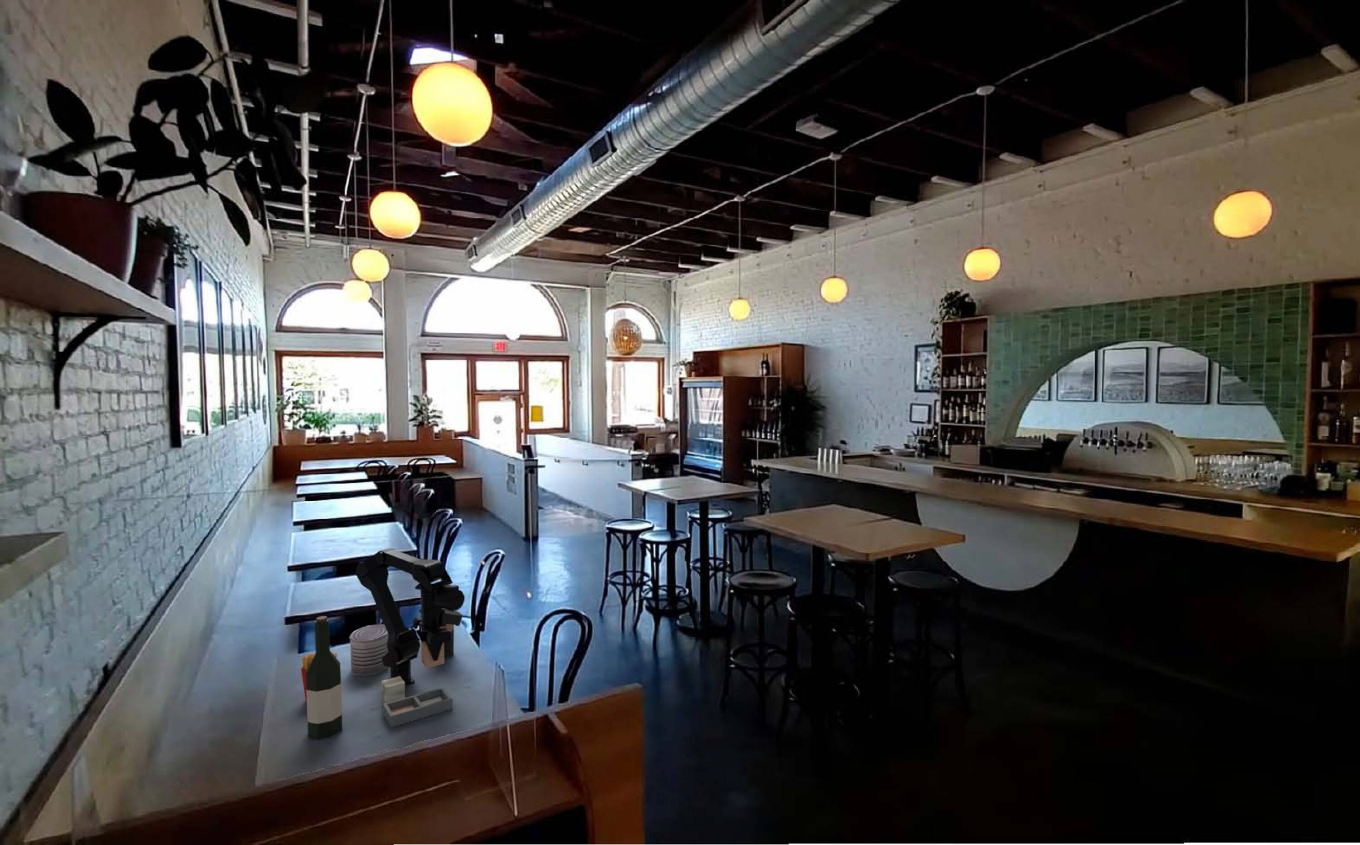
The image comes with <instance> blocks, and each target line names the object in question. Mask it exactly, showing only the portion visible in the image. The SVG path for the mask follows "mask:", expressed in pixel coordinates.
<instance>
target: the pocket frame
mask: <svg viewBox="0 0 1360 845" xmlns="http://www.w3.org/2000/svg"><path fill="white" fill-rule="evenodd" d="M453 701H454V700H453V697H451V695H450V694H449V693H448V692H447V690H446V689H445V688H444V687H439V688H435V689H432V690H428V691H425V692H421V693H417V694H414V695H411V696H407V697H406V696H405V698H403V699H399V700H396V701H392V702H389V703H385V704H382V710H383V711H382V714H383V716H385V717H384V718H385V720H386V722H387V721H388V722H387V724H388V725H389V724H390V725H389V727H390V726H391V727H392V728H395V727H398V726H401V725H400V724H402V725H404V723H405V724H407V722H408V723H411V722H410V721H412V720H415V721H417V720H416V719H418V720H421V719H420V718H422V719H425V718H427V716H428V717H431V716H430V715H432V716H434V715H433V714H435V715H438V714H441V713H444V711H445V712H448V711H451V710H453V708H454V707H453ZM447 710H448V711H447ZM424 717H425V718H424ZM412 722H413V721H412ZM397 725H398V726H397ZM394 726H395V727H394ZM391 727H390V728H391Z"/></svg>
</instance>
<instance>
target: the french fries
mask: <svg viewBox="0 0 1360 845" xmlns="http://www.w3.org/2000/svg"><path fill="white" fill-rule="evenodd" d="M331 653H332V654H333V655H334V656H335V657H336V658H337V656H338V653H335V652H331ZM315 654H316V652H315V653H311V654H308V655H307V656H305V655H303V656H302V658H301V660H302V667H301V668H300V673H301V678H302V685H303V686H302V687H303V692H304V698H305V702H307V691H306V669H307V667H308V666H309V664H310V662H311V661H312V659H313V657H314V655H315Z"/></svg>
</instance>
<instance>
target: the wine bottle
mask: <svg viewBox="0 0 1360 845" xmlns="http://www.w3.org/2000/svg"><path fill="white" fill-rule="evenodd" d="M314 640H315V641H314V643H315V644H314V645H315V653H316V654H315V653H314V654H313V655H314V657H313V659H312V661H311V662H310V664H309V666H308V667H307V669H306V691H307V701H306V709H307V710H306V711H307V713H306V714H307V716H306V717H307V738H308V739H312V740H317V739H319V740H323V739H324V740H325V739H328V738H332V737H334V736H336V735H338V733H340V732H342V731H343V701H342V678H341V676H342V675H341V674H342V673H341V662H340V661H339V660H338V658H337V656H336V657H335V656H334V655H333V654H332V653H333V652H332V651H331V646H330V619H329V618H328V616H325V615H321V616H318V617H316V620H314Z"/></svg>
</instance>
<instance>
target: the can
mask: <svg viewBox="0 0 1360 845" xmlns="http://www.w3.org/2000/svg"><path fill="white" fill-rule="evenodd" d="M348 638H349V639H350V640H349V643H350V644H349V645H350V670H351V673H352V672H353V673H352V674H353V676H360V675H362V676H363V677H365V675H366V676H372V674H373V675H377V674H379V672H380V673H382V672H384V671H383V670H385V671H387V670H386V669H389V667H387V666H384V665H383V662H382V658H383V657H384V656H385V655H386V653H387V652H388V648H387V641H388V632H387V629H386V627H385V625H384V623H383V624H381V623H380V624H370V625H366V626H362V627H360V628H358V629H355V630H354V631H353V632H351V634H350V635H349V637H348ZM381 671H382V672H381ZM376 673H377V674H376Z"/></svg>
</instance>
